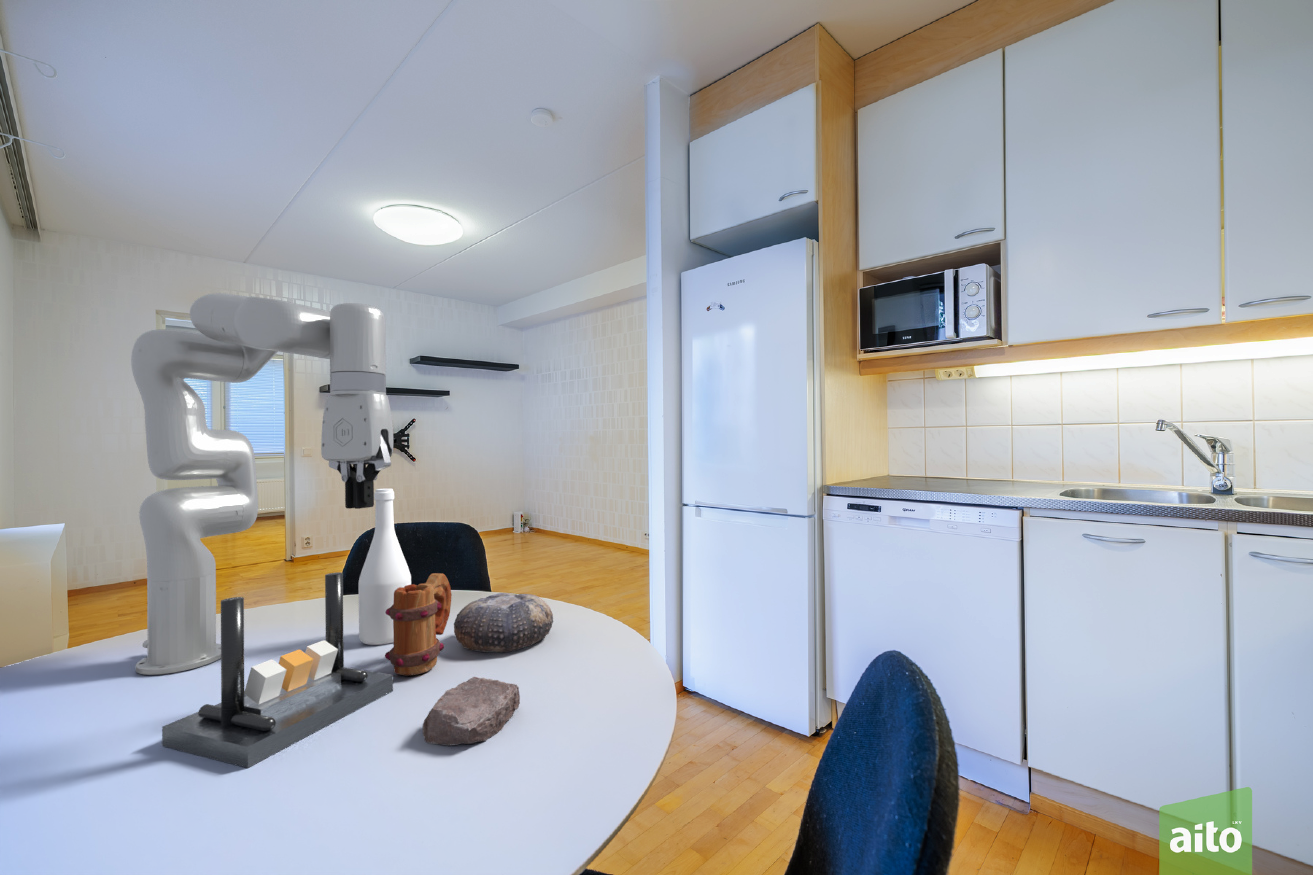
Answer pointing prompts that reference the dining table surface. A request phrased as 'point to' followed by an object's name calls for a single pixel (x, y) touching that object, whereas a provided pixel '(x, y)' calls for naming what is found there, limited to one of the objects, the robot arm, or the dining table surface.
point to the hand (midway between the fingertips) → (359, 507)
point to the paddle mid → (295, 669)
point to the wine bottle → (381, 575)
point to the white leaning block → (321, 659)
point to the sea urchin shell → (503, 622)
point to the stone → (471, 712)
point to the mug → (419, 624)
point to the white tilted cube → (265, 681)
